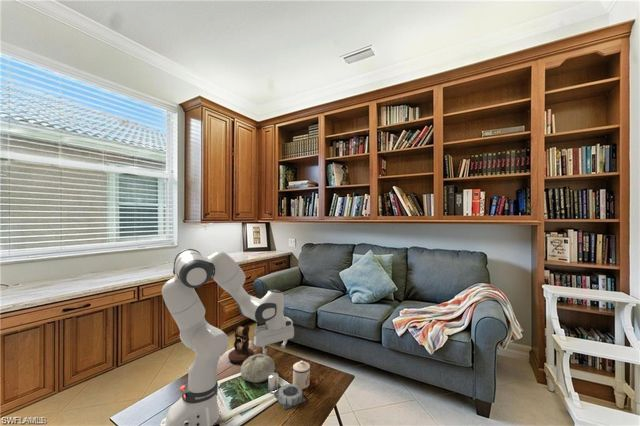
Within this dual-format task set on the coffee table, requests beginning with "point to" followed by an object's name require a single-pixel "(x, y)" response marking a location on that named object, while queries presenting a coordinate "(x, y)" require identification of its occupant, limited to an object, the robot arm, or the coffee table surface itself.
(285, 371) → the coffee table surface
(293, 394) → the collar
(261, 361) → the decorative shell
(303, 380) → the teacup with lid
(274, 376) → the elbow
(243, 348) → the carved wooden figurine
